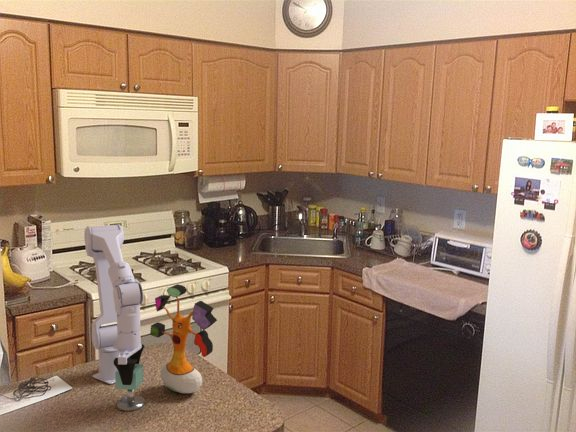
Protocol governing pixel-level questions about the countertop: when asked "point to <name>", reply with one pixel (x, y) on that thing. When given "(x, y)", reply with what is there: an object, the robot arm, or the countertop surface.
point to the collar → (136, 380)
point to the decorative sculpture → (183, 342)
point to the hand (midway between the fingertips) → (130, 378)
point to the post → (130, 402)
